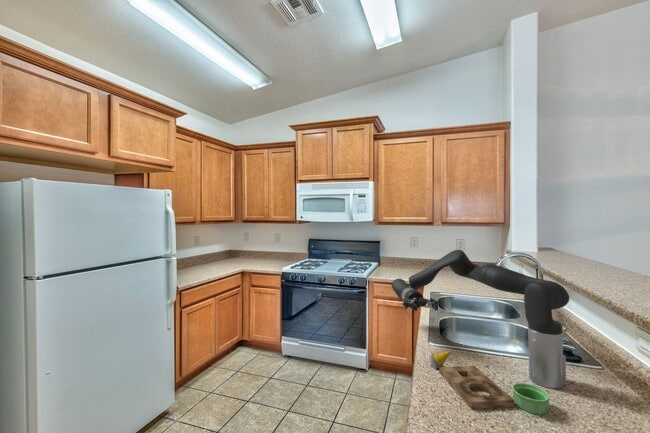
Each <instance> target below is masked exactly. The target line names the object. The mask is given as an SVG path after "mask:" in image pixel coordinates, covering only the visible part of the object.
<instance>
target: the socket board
mask: <svg viewBox="0 0 650 433" xmlns="http://www.w3.org/2000/svg"><path fill="white" fill-rule="evenodd" d="M438 370H439V372H438V373H439V374H440V375H441V377H443V379H444V380H445V381H446V382H447V383H448V385H449V386H450V387H451V388H452V389H453V391H455V393H456V394H457V395H459V397H460V398H461V399H462V400H463V402H465V404H466V405H467V406H468V407H469V408H470V409H471V410H476V409H477V410H478V409H479V410H481V409H495V408H500V409H501V408H514V407H515V402H514V397H513V398H512V397H511V396H510V394H508V393H507V392H506V391H505V390H503V389H502V387H500V386H499V385H498V384H496V383H495V382H494V381H493V380H492V379H490V378H489V376H487V375H486V374H485V373H484V372H482V371H481V369H479V368H478V367H476V366H475V365H464V366H463V365H461V366H460V365H459V366H443V367H439V368H438ZM473 390H478V391H483V392H484V393H487V395H484V394H480V393H479V394H478V393H477V392H475V391H473Z"/></svg>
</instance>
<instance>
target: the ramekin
mask: <svg viewBox="0 0 650 433" xmlns="http://www.w3.org/2000/svg"><path fill="white" fill-rule="evenodd" d="M512 392H513V399H514V405H516V406H517V407H518V408H519V409H521V410H522V411H524V412H527V413H530V414H534V415H536V416H537V415H539V416H540V415H541V416H542V415H545V414H547V413H548V410H549V401H550V399H551V397H550V395H549V393H548V392H547V391H546V390H545V389H542V388H541V387H538V386H537V385H534V384H530V383H524V382H516V383H514V384H513V385H512Z"/></svg>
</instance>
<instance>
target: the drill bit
mask: <svg viewBox="0 0 650 433" xmlns="http://www.w3.org/2000/svg"><path fill="white" fill-rule="evenodd" d="M451 352H452V351H451V350H449V351H444V352H439V353H432V354H430V367H431V368H432V369H434V370H437V369H439V367H444V364H445V362H446V361H447V359H448V357H449V356H450V354H451Z"/></svg>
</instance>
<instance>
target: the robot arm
mask: <svg viewBox="0 0 650 433" xmlns="http://www.w3.org/2000/svg"><path fill="white" fill-rule="evenodd" d="M446 267H449V268H450V269H451V271H452V272H453V273H454V274H455V275H457V276H460V277H463V278H467V279H470V280H473V281H476V282H478V283H481V284H484V285H486V286H488V287H490V288H493V289H495V290H498V291H501V292H507V293H511V294H519V295H523V297H524V298H523V303H524V315H525V318H526V319H525V320H526V322H527V325H528V326H527V327H528V328H527V331H528V332H527V333H528V335H527V336H528V378H529V379H530V381H531V382H533V383H535V384H537V385H538V386H541V387H545V388H549V389H561V388H563V386H566V385H567V368H566V367H567V360H566V355H564V354H563V352H564V348H563V346H564V345H563V343H564V342H563V325H562V323H561V322H559V321H557V320H555V319H553V310H558V309H562V308H563V307H566V306H567V305H568V304H569V302H570V295H569V292H568V290H566V288H565V287H564V286H563V285H561V284H560V283H558V282H555V281H552V280H547V279H541V278H537V277H533V276H529V275H526V274H523V273H520V272H519V271H514V270H511V269H509V268H506V267H503V266H500V265H496V264H493V263H488V264H484V265H481V266H480V265H477V264H475V263H473V262H472V261H471V260H470V258H469V257H468V256H467V254H466V253H465V252H464V250H462V249H455V250H452V251H450V252H449V253H447V254H445V255H444V256H442V257H441V258H439V259H438V260H437V261H435V262H433V264H431V265H429V266H428V267H426V268H425V269H423V270H422V271H421V270H420V271H419V272H416V273H415V274H412V275H410V276H409V277H408V282H409V285H410V286H409V285H408V283H407V282H406V281H405V280H404V279H403V278H395V279H394V280H393V281H392V283H391V288H392V290H393V292H394V293H395V294H396V296H397V297H398V298H399V299H400V300H401V302H402V303H401V305H402V306H403V307H404V308H405V309H411V310H413V311H414V312H418V309H419V308H426V309H433V310H434V311H437V312H438V310H439V301H438V300H436V299H434V298H432V297H430V298H429V299H427V298H425V297H424V295H423V294H422V293H421V292H419V289H421V288H423V287H425V286H428V285H430V284H431V283H432V282H433V281H434V280H435V278H436V277H437V275H438V274H439V273H440V271H442V270H443V269H444V268H446Z"/></svg>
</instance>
